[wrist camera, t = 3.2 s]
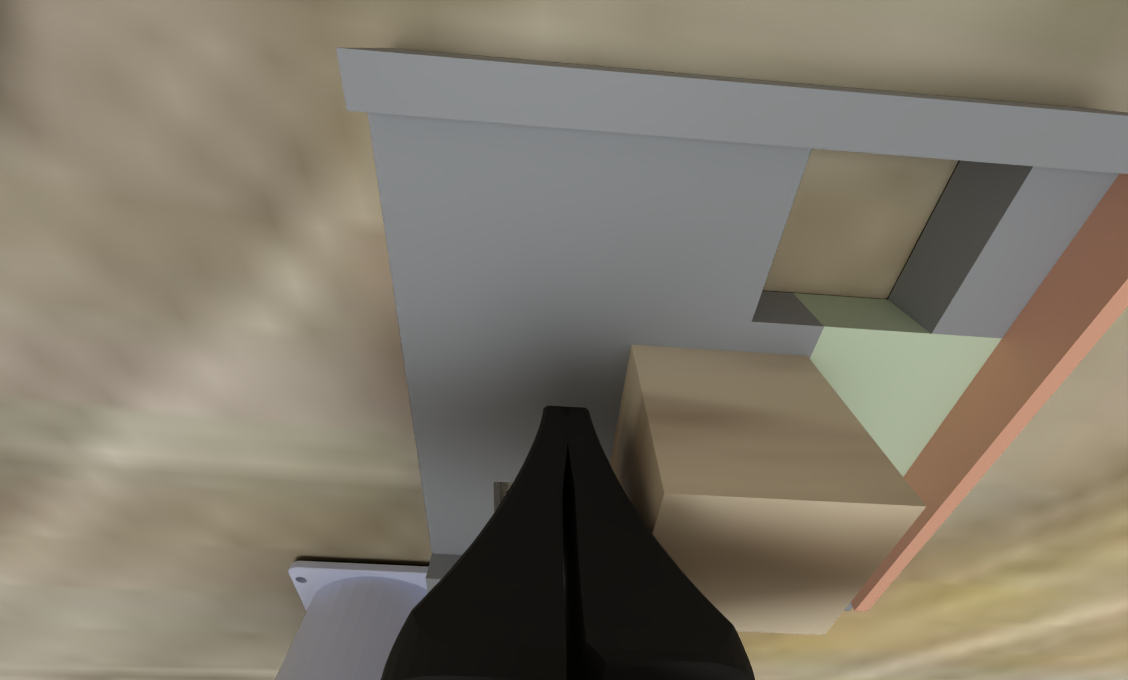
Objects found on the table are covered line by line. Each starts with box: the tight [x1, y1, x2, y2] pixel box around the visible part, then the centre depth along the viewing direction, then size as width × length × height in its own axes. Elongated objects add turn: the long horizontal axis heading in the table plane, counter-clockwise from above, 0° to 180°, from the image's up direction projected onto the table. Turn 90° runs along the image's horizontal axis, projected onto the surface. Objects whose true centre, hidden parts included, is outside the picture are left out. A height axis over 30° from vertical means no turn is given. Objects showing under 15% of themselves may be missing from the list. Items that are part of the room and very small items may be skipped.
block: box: [610, 345, 926, 635], centre depth 12 cm, size 5×5×5 cm
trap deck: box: [336, 48, 1128, 611], centre depth 14 cm, size 18×17×4 cm
